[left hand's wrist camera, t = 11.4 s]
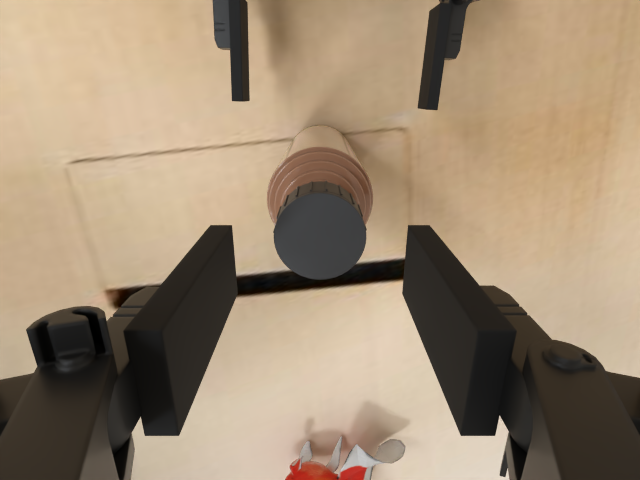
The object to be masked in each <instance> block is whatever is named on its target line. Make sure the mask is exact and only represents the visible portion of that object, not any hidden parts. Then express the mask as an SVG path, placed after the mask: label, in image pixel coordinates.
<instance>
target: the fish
mask: <svg viewBox="0 0 640 480" xmlns="http://www.w3.org/2000/svg"><path fill="white" fill-rule="evenodd" d="M341 443H342V436H341V437H340V439H339V441H338V443H337V445H336V447H335V449H334V452H333V454H332V457H331V460H330V462H329V463H328V465H327V466H326V467H325V466H324V465H322V464H320V463H318V462H313V461H310V460H311V458H312V450H311V446H310V442H309V441H307V442H306V443H305V445H304V446H303V448H302V450H301V453H300V458H299V459H297V460H295V461H294V462H293V463H292V464H291V465H290V469H291V472H290V474H289V475H288V476H287V477H286V479H285V480H371V474H372V469H373V466H374V465H377V464H381V463H393V462H395V461H397V460H399V459H400V458H401V457H402V456H403V454H404V452H405V445H404V444H403V443H402V441H400V440H394V439H390V440H388V441H386V442H384V443H383V444H382V445H380V446H379V447H378V450H377V453H376V455H375V457H374V458H373V457H372V456H370V455H369V454H367V453H366V452H365V451H364V450H362V449H361V448H360V447H359V446H358V445H357V444H356V445H355V446H354V448H353V449H352V450H351V451H350V453H349V455H348V457H347V459H346V461H345V464H344V465H343V467H342V469H341V470H340V472H339V474H335V473H333V472H335V471H336V469H337V468H338V466H339V461H340V450H341Z"/></svg>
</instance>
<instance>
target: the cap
mask: <svg viewBox="0 0 640 480" xmlns="http://www.w3.org/2000/svg"><path fill="white" fill-rule="evenodd" d="M362 217H363V214H362V212H361V209H360V206H359V204H358V205H357V202H356V201H355V199H354V198H353V196H352V194H351V193H349V192H348V191H346V190H345V189H344V188H342V187H341V185H339V186H338V185H336V184H333V183H330V182H327V181H325V182H323V181H317V182H313V181H311V182H310V183H307V184H304V185H302V186H300V187H299V186H297V188H296V189H295V190H294V191H293V192H291V193H290V194H289V195H287V196H286V199H285V201H284V203H283V205H282V207H281V206H280V208H279V211H278V214H277V217H276V219H277V222H276V225H275V228H274V232H273V233H274V243H275V248H276V250H277V253H278V255H279V257H280V259H281V260H282V261H283V263H284V264H285V265H286V266H287V267H288V268H289V269H291V270H292V271H293V272H295V273H297V274H299V275H301V276H303V277H306V278H311V279H330V278H334V277H337V276H339V275H341V274H343V273H345V272H347V271H348V270H349V269H351V268H352V267H353V266H354V265H355V264H356V263H357V261H358V260H359V259H360V257H361V255H362V253H363V251H364V248H365V244H366V226H365V223H364V220H363V218H362Z"/></svg>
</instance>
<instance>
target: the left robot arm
mask: <svg viewBox="0 0 640 480" xmlns="http://www.w3.org/2000/svg"><path fill="white" fill-rule="evenodd" d="M237 294H238V292H237V281H236V269H235V257H234V245H233V233H232V225H210V227H209V228H208V229H207V230H206V231H205V233H204V234H203V235H202V236H201V237H200V239H199V240H198V241H197V242H196V243H195V245H194V246H193V247H192V248H191V250H190V251H189V252H188V253H187V254H186V256H185V257H184V258H183V259H182V260H181V262H180V263H179V264H178V265H177V266H176V268H175V269H174V270H173V271H172V272H171V274H170V275H169V276H168V277H167V278H166V280H165V281H164V282H163V283H162V284H161V286H160V287H145V288H144V289H142V290H140V291H138V292H137V293H135V294H133V295H131V296H130V297H129V298H128V299H127V300H126V301H125V303H124V304H123V305H122V306H121V308H119V309H118V310H117V311H116V312H115V313H114V314H113V317H111V318H110V319H109V320H108V321H106V317H105V312H104V311H102V310H101V309H100V308H97V307H91V306H81V307H72V308H67V309H63V310H59V311H56V312H54V313H51V314H48V315H46V316H44V317H42V318H40V319H39V320H37V321H35V322H34V323H33V324H32V325H31V326H30V327H29V328H27V329H26V331H27V334H28V337H29V341H30V344H31V347H32V350H33V353H34V357H35V360H36V363H37V368H36V370H35V372H34V373H32V374H28V375H23V376H18V377H13V378H7V379H2V380H0V480H131V472H132V465H133V457H134V450H135V449H134V442H133V438H132V431H133V429H134V427H135V426H136V424H137V422H138V420H139V418H140V417H141V419H142V424H143V429H144V434H145V436H179V435H180V432H181V430H182V427H183V425H184V422H185V420H186V418H187V415H188V413H189V410H190V408H191V405H192V403H193V401H194V398H195V396H196V393H197V391H198V388H199V386H200V384H201V381H202V379H203V376H204V374H205V371H206V369H207V367H208V364H209V362H210V359H211V357H212V354H213V352H214V350H215V347H216V345H217V342H218V340H219V337H220V335H221V333H222V330H223V328H224V325H225V323H226V320H227V318H228V316H229V313H230V311H231V308H232V306H233V303H234V301H235V299H236V296H237ZM402 294H403V296H404V299H405V301H406V303H407V306H408V308H409V311H410V313H411V316H412V318H413V320H414V323H415V325H416V328H417V330H418V333H419V335H420V337H421V340H422V342H423V345H424V347H425V350H426V352H427V354H428V357H429V359H430V362H431V364H432V367H433V369H434V371H435V374H436V376H437V379H438V381H439V384H440V386H441V388H442V391H443V393H444V396H445V398H446V401H447V403H448V405H449V408H450V410H451V413H452V415H453V418H454V420H455V422H456V425H457V427H458V430H459V432H460V435H461V436H495V434H496V429H497V424H498V419H499V415H500V416H501V418H502V420H503V422H504V423H505V425H506V427H507V429H508V431H509V433H508V438H507V442H506V446H505V451H504V455H503V460H502V464H501V470H500V476H503V477H505V476H506V472H507V468H508V471H509V479H510V480H640V378H637V377H632V376H627V375H621V374H616V373H611V372H607V371H605V369H604V367H603V366H602V364H601V363H600V362H599V361H598V360H597V358H596V357H594V356H593V355H591V354H590V353H588V352H587V351H585V350H584V349H581V348H579V347H577V346H575V345H572V344H569V343H566V342H562V341H558V340H552V339H551V338H550V337H549V336H548V335H547V334H546V333H545V332H544V331H543V330H542V328H541V327H540V326H539V325H538V324H537V323H536V322H535V321H534V320H533V319H532V318H531V317H530V316H529V315H527V313H526V311H525V310H524V309H523V308H522V307H519V304H518V303H517V302H516V301H515V300H514V299H513V298H512V297H511V296H510V295H509V294H508V293H506V292H504V291H502V290H501V289H499V288H497V287H495V286H479V284H478V283H477V282H476V281H475V280H474V278H473V277H472V276H471V275H470V274H469V272H468V271H467V270H466V269H465V268H464V266H463V265H462V264H461V263H460V262H459V260H458V259H457V258H456V257H455V256H454V254H453V253H452V252H451V251H450V250H449V248H448V247H447V246H446V245H445V243H444V242H443V241H442V240H441V239H440V237H439V236H438V235H437V234H436V233H435V231H434V230H433V229H432V228H431V227H430V225H408V233H407V245H406V257H405V269H404V281H403V292H402Z"/></svg>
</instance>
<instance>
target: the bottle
mask: <svg viewBox="0 0 640 480" xmlns="http://www.w3.org/2000/svg"><path fill="white" fill-rule="evenodd" d="M311 181H313V182H317V181H323V182H325V181H327V182H330V183H333V184H336V185H338V186H339V185H341V187H342V188H344V189H345V190H346V191H348V192H349V193H351V194H352V196H353V198H354V199H355V201H356V202H357V205H358V204H359V206H360V209H361V212H362V214H363V217H362V218H363V220H364V223H365V224H366V223H367V221H368V219H369V216H370V214H371V210H372V204H373V192H372V186H371V183H370V180H369V178H368V175H367V174H366V172H365V170H364V168H363V167H362V165H361V163H360V162H359V160H358V158H357V156H356V155H355V153H354V151H353V149H352V148H351V146H350V144H349V143H348V141H347V139H346V138H345V137H344V136H343V135H342V134H341V133H340V132H339V131H338V130H336V129H334V128H332V127H329V126H324V125H316V126H311V127H308V128H306V129H304V130H303V131H301V132H300V133H299V134H298V135H297V136H296V137H295V138H294V139H293V141H292V143H291V144H290V146H289V148H288V149H287V151H286V153H285V155H284V156H283V158H282V160H281V161H280V163H279V165H278V167H277V168H276V170H275V172H274V174H273V176H272V178H271V180H270V183H269V186H268V192H267V204H268V210H269V214H270V216H271V219H272V221H273V223H274V224H275V225H276V222H277V219H276V217H277V214H278V211H279V208H280V206H281V207H282V205H283V203H284V201H285V199H286V196H287V195H289V194H290V193H291V192H293V191H294V190H295V189H296V188H297V186H299V187H300V186H302V185H304V184H307V183H310V182H311Z"/></svg>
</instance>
